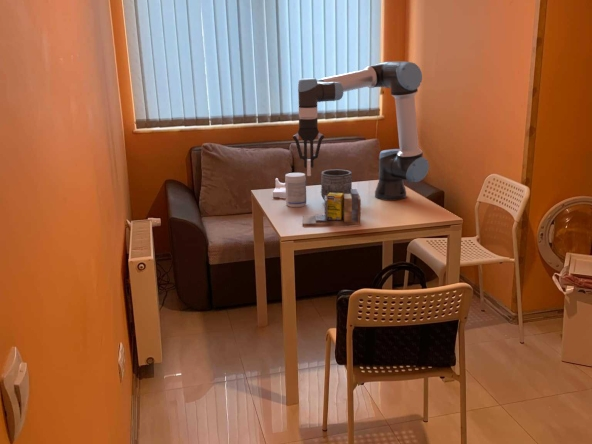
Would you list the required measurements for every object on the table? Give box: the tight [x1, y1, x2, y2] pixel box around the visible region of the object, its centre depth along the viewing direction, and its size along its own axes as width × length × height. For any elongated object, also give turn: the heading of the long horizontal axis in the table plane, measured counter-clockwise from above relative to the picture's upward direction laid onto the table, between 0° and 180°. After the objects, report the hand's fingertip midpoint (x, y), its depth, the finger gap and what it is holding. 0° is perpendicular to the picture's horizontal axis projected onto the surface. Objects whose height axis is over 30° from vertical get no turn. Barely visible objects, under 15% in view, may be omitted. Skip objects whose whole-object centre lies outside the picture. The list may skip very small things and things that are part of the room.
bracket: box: [272, 177, 286, 199], centre depth 295 cm, size 13×7×8 cm, turn 174°
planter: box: [320, 168, 353, 202], centre depth 277 cm, size 14×14×15 cm
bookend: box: [314, 196, 327, 222], centre depth 249 cm, size 5×8×9 cm, turn 179°
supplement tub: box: [284, 172, 307, 208], centre depth 275 cm, size 10×10×15 cm
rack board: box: [301, 188, 362, 227], centre depth 248 cm, size 24×11×13 cm, turn 89°
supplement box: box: [327, 192, 344, 221], centre depth 248 cm, size 6×6×11 cm
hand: (308, 175), depth 244 cm, fingers closed
